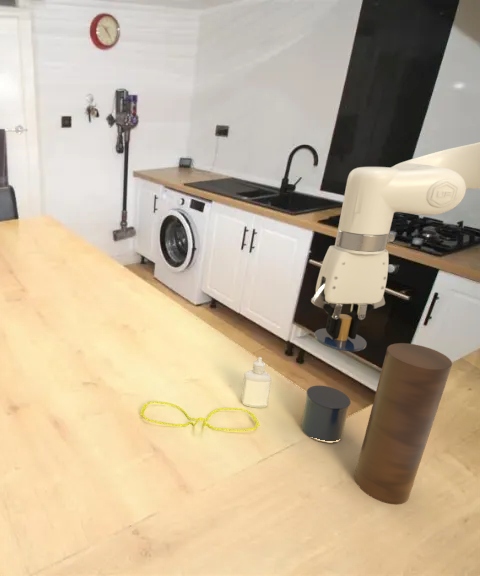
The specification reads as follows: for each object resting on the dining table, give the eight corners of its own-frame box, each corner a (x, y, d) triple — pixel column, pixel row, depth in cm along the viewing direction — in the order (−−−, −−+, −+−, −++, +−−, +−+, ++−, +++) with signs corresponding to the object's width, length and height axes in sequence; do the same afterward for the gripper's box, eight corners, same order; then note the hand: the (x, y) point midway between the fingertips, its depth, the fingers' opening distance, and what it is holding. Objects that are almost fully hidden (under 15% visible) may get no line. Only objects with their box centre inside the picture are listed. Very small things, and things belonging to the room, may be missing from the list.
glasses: (254, 413, 91) (256, 394, 89) (263, 443, 82) (266, 424, 80) (141, 403, 95) (142, 385, 94) (138, 431, 86) (139, 412, 84)
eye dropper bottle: (263, 413, 91) (269, 366, 87) (238, 403, 94) (243, 357, 90) (269, 403, 94) (276, 357, 90) (245, 394, 98) (251, 350, 93)
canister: (331, 419, 89) (338, 385, 86) (350, 444, 81) (358, 408, 78) (294, 418, 89) (300, 385, 86) (309, 443, 82) (317, 408, 79)
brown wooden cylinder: (390, 468, 75) (427, 343, 66) (420, 505, 68) (466, 369, 59) (345, 467, 76) (376, 342, 67) (370, 503, 68) (408, 369, 59)
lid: (350, 330, 82) (356, 307, 80) (376, 351, 74) (382, 326, 72) (306, 330, 82) (310, 307, 80) (326, 351, 74) (331, 326, 72)
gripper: (395, 235, 74) (372, 327, 81) (304, 236, 75) (289, 326, 81) (423, 246, 67) (397, 345, 74) (323, 246, 68) (305, 344, 74)
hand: (340, 334), depth 77 cm, fingers closed on lid, 2 cm apart
